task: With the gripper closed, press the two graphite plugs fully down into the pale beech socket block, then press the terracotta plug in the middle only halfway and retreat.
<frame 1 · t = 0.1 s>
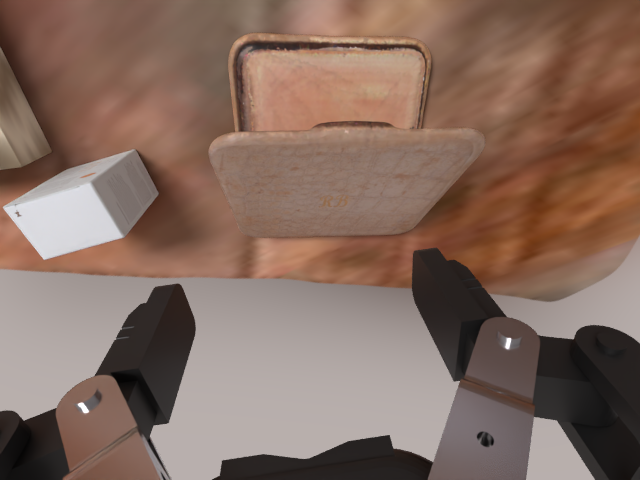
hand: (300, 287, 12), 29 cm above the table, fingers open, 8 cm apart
case: (328, 142, 40), on the table
small box: (116, 180, 39), on the table
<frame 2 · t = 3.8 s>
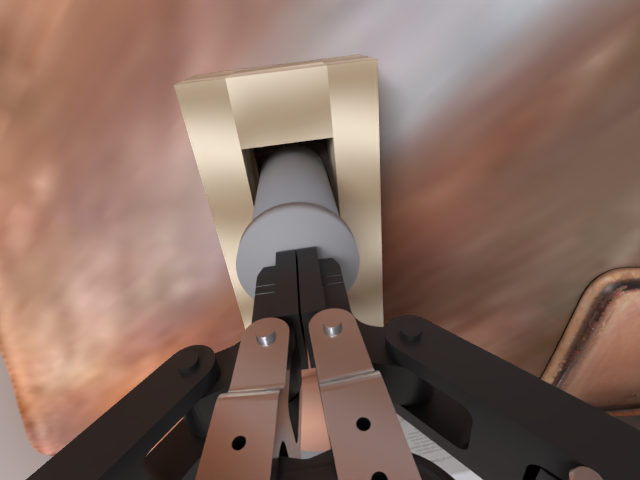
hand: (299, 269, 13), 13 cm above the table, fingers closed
plug mid: (315, 343, 20), point 9 cm above the table, slide at 0.0 cm
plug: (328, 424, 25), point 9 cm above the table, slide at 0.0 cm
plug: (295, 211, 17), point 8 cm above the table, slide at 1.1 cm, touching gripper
case: (637, 341, 38), on the table
socket block: (306, 256, 29), on the table
small box: (419, 381, 38), on the table
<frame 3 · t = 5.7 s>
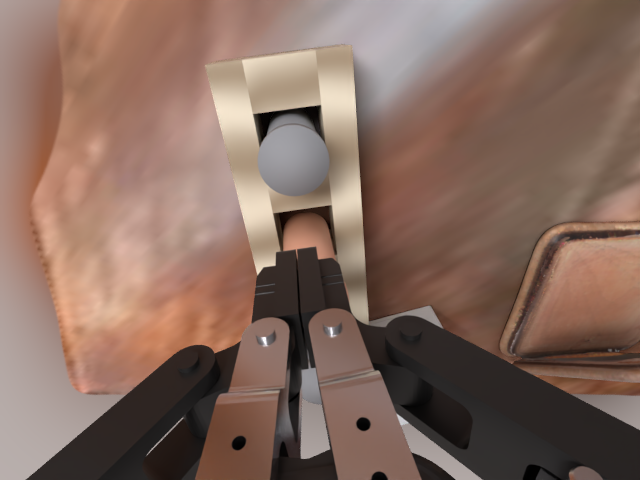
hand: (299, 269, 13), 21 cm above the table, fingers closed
plug mid: (309, 262, 27), point 9 cm above the table, slide at 0.0 cm
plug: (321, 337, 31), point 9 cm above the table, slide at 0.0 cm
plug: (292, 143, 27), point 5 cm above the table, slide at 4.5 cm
case: (587, 292, 45), on the table
socket block: (303, 210, 35), on the table
small box: (401, 326, 45), on the table
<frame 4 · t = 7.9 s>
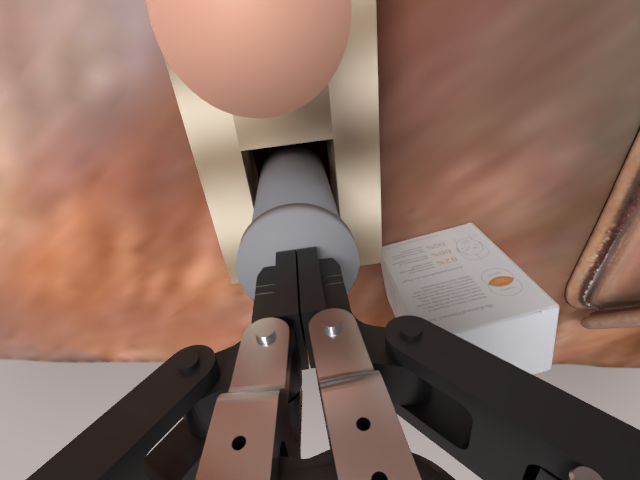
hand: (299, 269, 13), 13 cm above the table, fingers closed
plug mid: (263, 21, 12), point 9 cm above the table, slide at 0.0 cm
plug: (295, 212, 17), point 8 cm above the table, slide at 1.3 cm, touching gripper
socket block: (271, 27, 20), on the table
small box: (426, 259, 30), on the table
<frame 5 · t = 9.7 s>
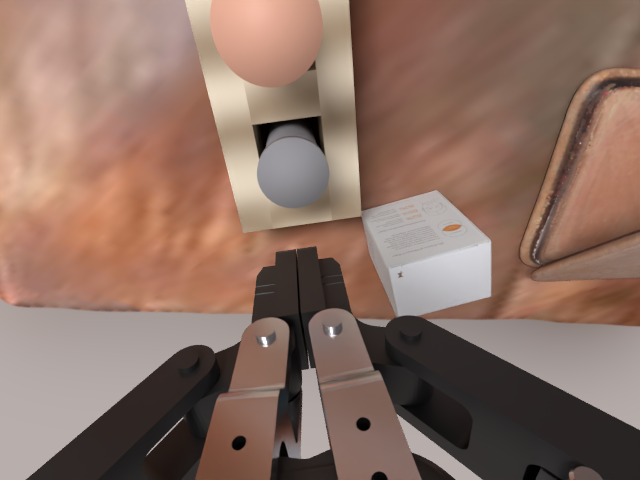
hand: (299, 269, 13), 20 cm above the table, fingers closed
plug mid: (271, 30, 19), point 9 cm above the table, slide at 0.0 cm
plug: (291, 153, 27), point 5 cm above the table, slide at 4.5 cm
case: (628, 180, 37), on the table
socket block: (274, 33, 27), on the table
small box: (401, 222, 36), on the table
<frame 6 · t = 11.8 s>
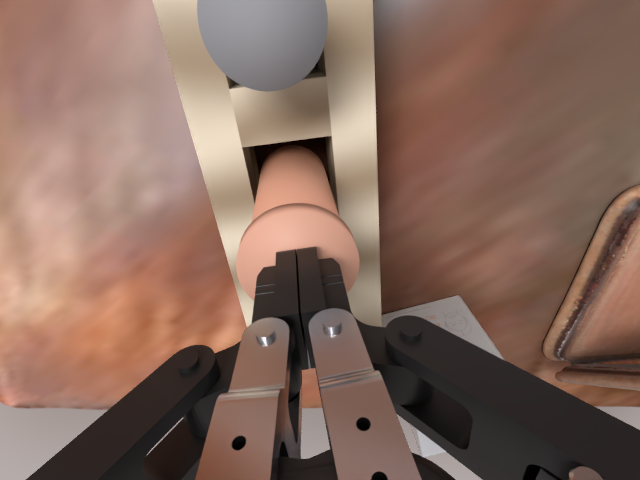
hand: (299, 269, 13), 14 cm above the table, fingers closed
plug mid: (295, 212, 17), point 9 cm above the table, slide at 0.6 cm, touching gripper
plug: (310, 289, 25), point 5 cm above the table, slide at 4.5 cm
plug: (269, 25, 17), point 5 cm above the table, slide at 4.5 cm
socket block: (292, 158, 25), on the table
small box: (420, 323, 35), on the table
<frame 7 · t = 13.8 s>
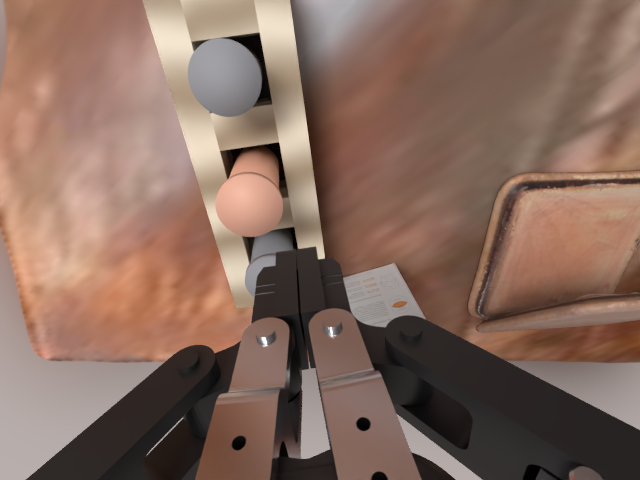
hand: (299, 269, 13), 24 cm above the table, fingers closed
plug mid: (254, 183, 29), point 7 cm above the table, slide at 2.1 cm
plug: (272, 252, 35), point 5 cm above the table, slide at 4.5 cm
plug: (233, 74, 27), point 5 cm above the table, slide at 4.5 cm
case: (553, 249, 45), on the table
socket block: (258, 159, 35), on the table
small box: (367, 287, 44), on the table
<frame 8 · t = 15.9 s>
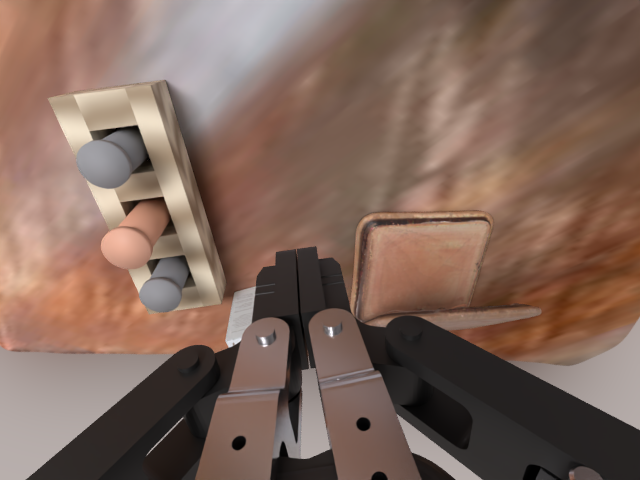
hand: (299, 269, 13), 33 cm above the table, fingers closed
plug mid: (142, 227, 40), point 7 cm above the table, slide at 2.1 cm
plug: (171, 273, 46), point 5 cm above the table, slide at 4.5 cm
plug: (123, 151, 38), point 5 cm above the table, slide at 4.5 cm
case: (415, 269, 56), on the table
socket block: (162, 201, 46), on the table
small box: (264, 297, 55), on the table
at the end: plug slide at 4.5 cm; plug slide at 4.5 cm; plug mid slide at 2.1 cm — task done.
